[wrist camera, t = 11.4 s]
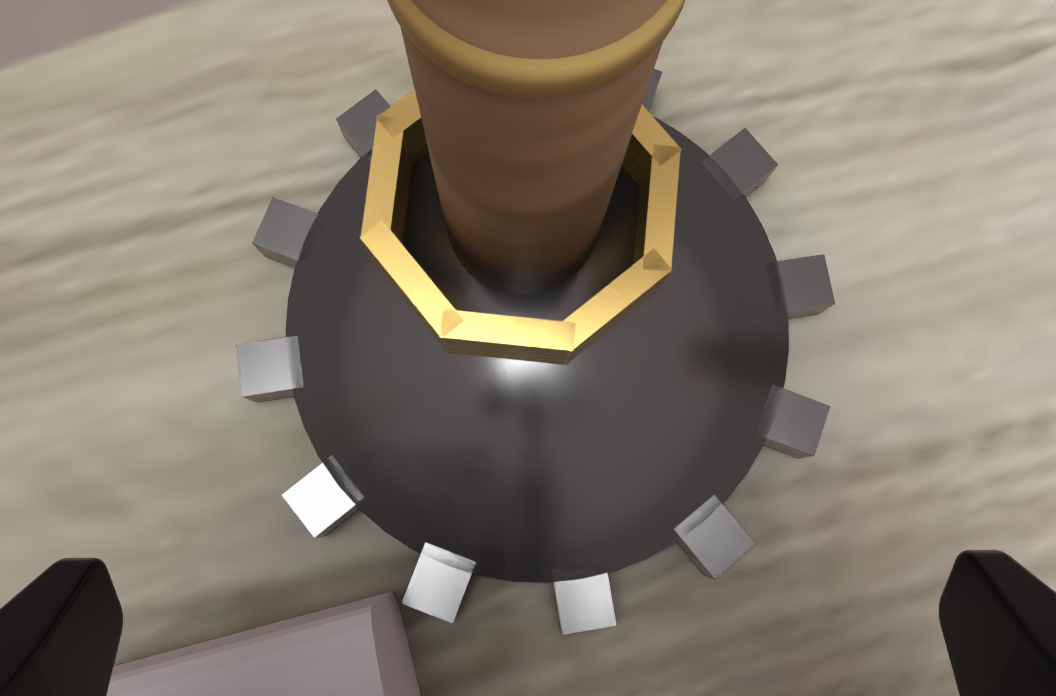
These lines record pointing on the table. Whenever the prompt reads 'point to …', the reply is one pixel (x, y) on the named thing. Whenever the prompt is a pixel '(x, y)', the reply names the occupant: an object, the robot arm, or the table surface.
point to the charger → (287, 658)
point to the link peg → (529, 122)
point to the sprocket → (538, 369)
